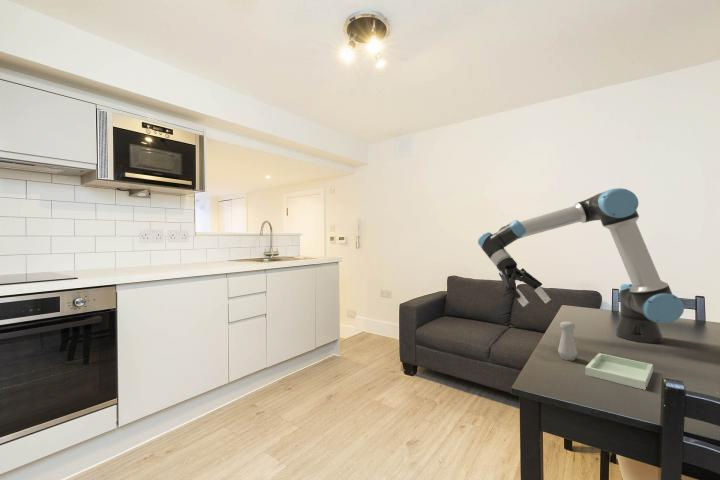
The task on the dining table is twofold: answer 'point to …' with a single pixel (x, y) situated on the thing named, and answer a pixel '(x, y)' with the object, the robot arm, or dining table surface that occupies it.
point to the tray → (620, 370)
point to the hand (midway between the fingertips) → (537, 303)
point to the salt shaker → (567, 342)
